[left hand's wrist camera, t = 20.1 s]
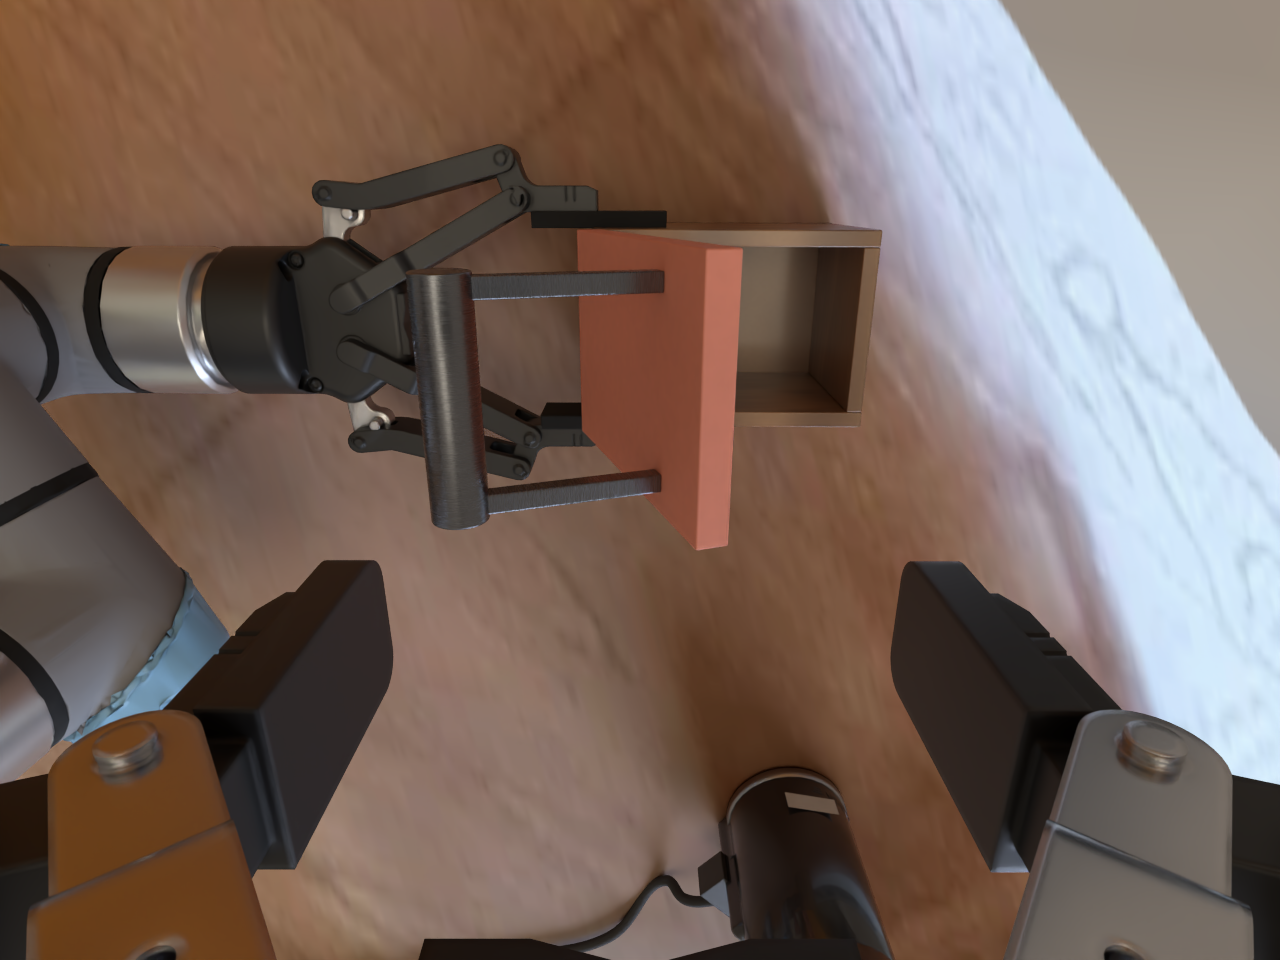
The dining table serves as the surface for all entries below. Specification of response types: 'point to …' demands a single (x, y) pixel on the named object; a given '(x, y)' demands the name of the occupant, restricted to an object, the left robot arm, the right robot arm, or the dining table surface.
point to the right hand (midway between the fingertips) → (664, 321)
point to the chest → (797, 317)
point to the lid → (597, 379)
